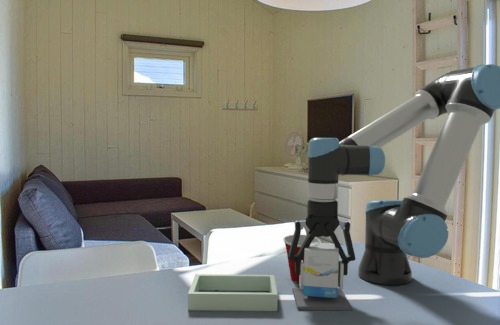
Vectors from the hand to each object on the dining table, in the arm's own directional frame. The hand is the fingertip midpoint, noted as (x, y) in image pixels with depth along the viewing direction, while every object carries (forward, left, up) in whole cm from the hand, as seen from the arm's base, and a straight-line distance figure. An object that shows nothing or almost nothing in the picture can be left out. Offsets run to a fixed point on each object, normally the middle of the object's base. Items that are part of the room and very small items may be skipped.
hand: (320, 287), depth 114 cm
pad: (0, 0, -3) cm, 3 cm away
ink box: (0, 0, -1) cm, 1 cm away
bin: (+22, 0, -3) cm, 22 cm away
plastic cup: (+3, -16, -4) cm, 17 cm away
